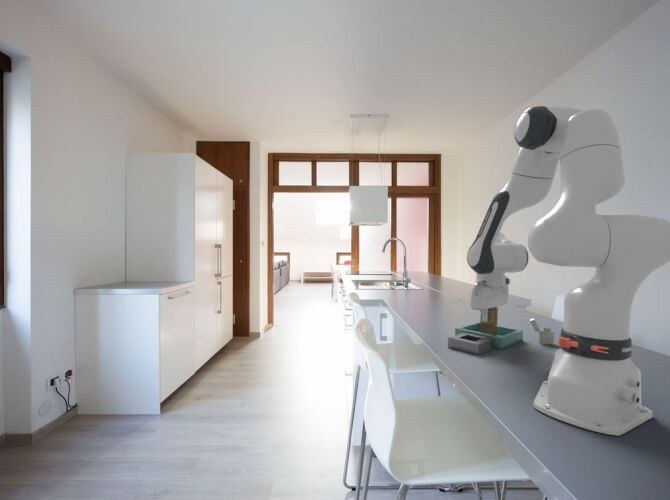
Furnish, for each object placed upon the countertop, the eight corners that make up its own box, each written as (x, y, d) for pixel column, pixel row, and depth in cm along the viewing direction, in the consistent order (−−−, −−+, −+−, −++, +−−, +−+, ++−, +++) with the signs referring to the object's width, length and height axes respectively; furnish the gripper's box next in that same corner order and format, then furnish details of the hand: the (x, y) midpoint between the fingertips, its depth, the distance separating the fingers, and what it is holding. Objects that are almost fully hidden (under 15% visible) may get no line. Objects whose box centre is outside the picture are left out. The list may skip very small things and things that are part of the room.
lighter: (552, 343, 116) (553, 319, 116) (553, 344, 114) (554, 320, 114) (528, 341, 118) (529, 317, 118) (529, 342, 117) (530, 318, 117)
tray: (501, 349, 108) (502, 338, 108) (454, 338, 120) (455, 328, 120) (522, 340, 119) (523, 330, 119) (477, 331, 131) (477, 321, 131)
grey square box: (478, 354, 103) (478, 344, 103) (447, 346, 110) (448, 337, 110) (494, 348, 109) (494, 338, 109) (464, 341, 117) (464, 332, 117)
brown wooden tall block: (491, 337, 117) (492, 307, 117) (480, 334, 120) (480, 305, 120) (497, 335, 119) (497, 305, 119) (485, 333, 122) (486, 304, 122)
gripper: (484, 282, 110) (483, 326, 110) (512, 279, 123) (511, 318, 124) (466, 280, 115) (465, 322, 115) (494, 277, 128) (493, 315, 128)
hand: (489, 320), depth 119 cm, fingers closed on brown wooden tall block, 4 cm apart
